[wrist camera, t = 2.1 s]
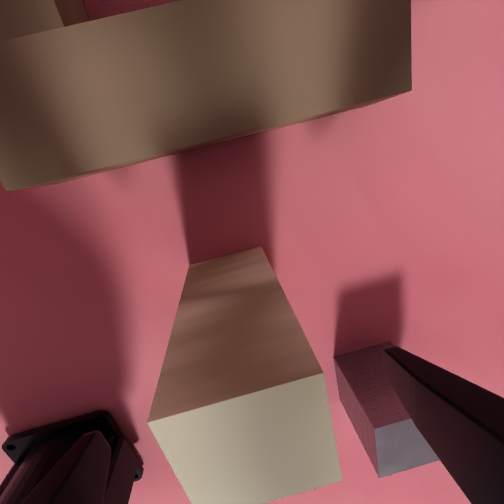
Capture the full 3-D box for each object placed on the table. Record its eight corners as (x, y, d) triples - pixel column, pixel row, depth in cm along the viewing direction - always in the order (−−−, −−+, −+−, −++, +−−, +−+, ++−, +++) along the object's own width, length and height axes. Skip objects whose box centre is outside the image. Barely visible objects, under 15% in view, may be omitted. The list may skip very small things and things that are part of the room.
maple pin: (210, 325, 16) (201, 522, 7) (189, 264, 14) (147, 422, 6) (275, 307, 16) (342, 480, 7) (261, 245, 14) (323, 373, 6)
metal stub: (339, 399, 19) (379, 478, 14) (333, 357, 18) (374, 429, 13) (392, 384, 19) (448, 457, 14) (389, 341, 18) (451, 406, 13)
